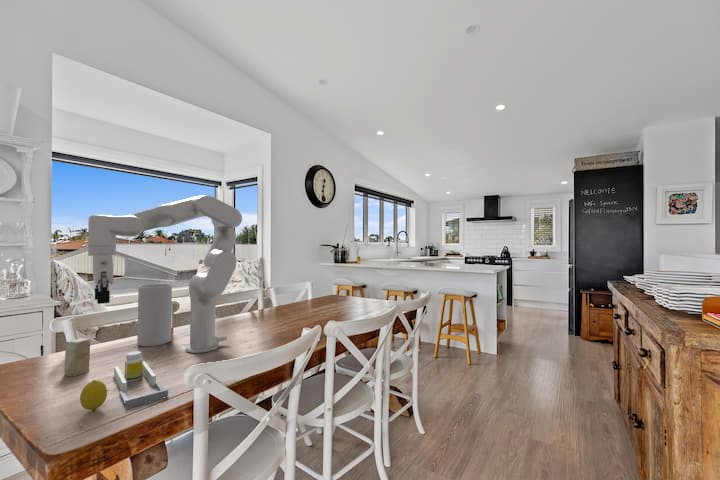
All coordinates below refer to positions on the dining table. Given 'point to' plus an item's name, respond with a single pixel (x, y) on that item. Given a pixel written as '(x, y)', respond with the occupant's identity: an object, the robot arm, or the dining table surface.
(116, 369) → the chute
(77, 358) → the box
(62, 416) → the dining table surface
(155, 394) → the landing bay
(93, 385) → the lemon
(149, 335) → the cylinder vase
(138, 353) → the supplement bottle
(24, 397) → the dining table surface
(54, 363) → the dining table surface
